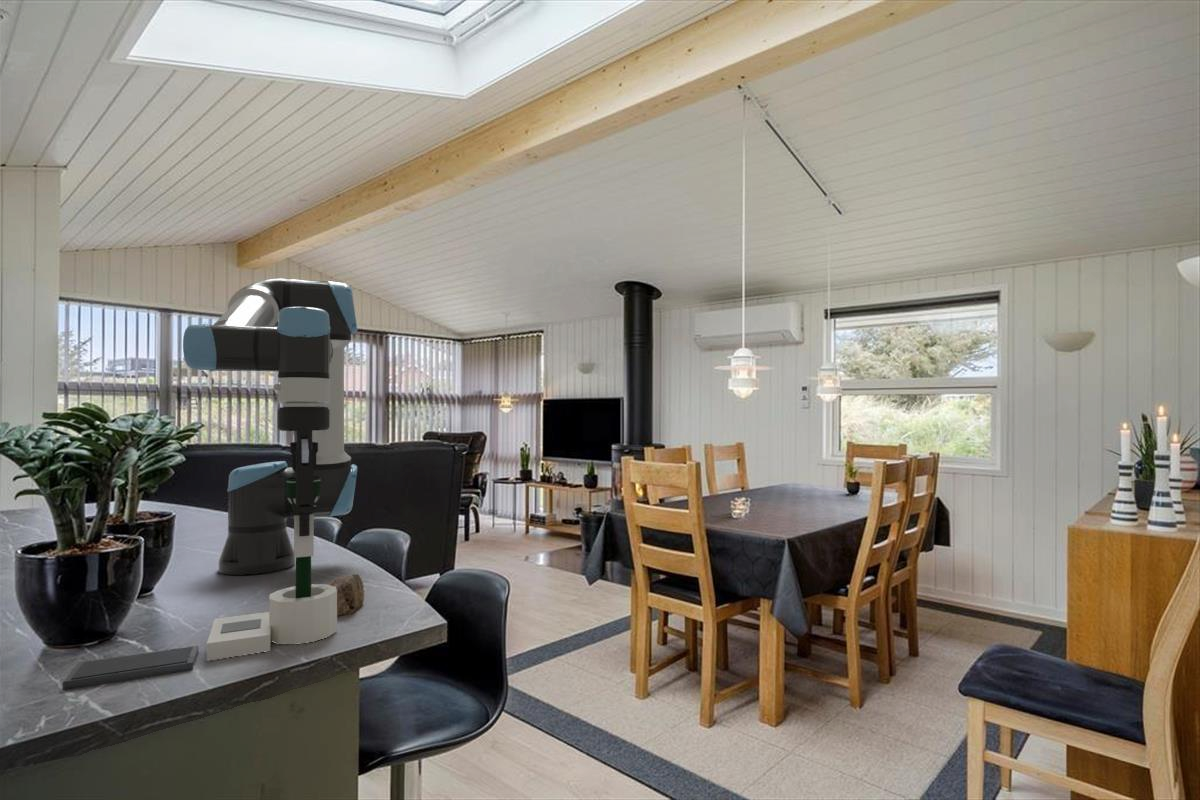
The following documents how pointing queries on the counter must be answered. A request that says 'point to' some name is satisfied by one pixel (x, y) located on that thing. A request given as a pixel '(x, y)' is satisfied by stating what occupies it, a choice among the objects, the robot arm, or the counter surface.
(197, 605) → the counter surface
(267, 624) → the block
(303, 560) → the flashlight
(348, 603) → the rock
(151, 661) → the phone
